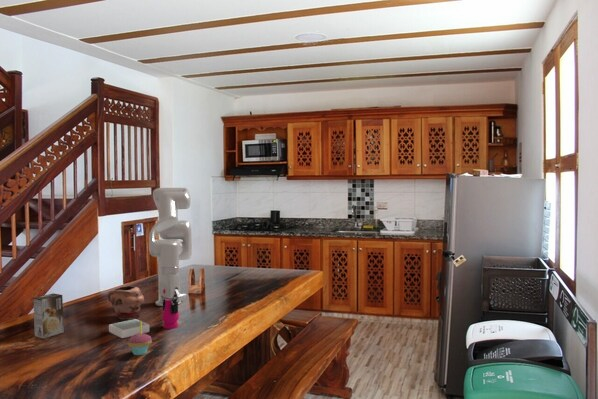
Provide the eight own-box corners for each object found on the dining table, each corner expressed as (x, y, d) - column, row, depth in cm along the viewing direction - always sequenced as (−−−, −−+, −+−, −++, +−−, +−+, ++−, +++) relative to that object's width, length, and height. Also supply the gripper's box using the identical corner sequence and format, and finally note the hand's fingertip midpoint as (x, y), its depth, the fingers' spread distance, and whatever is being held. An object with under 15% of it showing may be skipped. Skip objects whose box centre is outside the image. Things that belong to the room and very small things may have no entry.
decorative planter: (98, 319, 229) (97, 288, 228) (115, 312, 241) (114, 283, 240) (136, 322, 223) (136, 291, 223) (151, 315, 235) (151, 285, 234)
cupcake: (131, 349, 188) (130, 318, 188) (154, 348, 189) (153, 317, 189) (125, 357, 180) (124, 324, 179) (149, 357, 181) (149, 324, 180)
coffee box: (55, 330, 212) (54, 292, 211) (64, 332, 209) (63, 294, 208) (33, 336, 204) (32, 297, 204) (43, 338, 201) (42, 299, 200)
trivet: (135, 325, 218) (135, 318, 218) (149, 331, 210) (149, 324, 210) (109, 331, 210) (108, 324, 210) (122, 338, 202) (121, 330, 201)
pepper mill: (174, 329, 213) (174, 283, 212) (159, 328, 214) (158, 282, 213) (182, 324, 220) (181, 279, 219) (166, 323, 221) (166, 279, 220)
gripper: (152, 269, 219) (152, 309, 220) (172, 274, 207) (173, 317, 208) (167, 266, 225) (167, 306, 225) (188, 272, 212) (188, 314, 213)
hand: (170, 311), depth 217 cm, fingers closed on pepper mill, 5 cm apart
